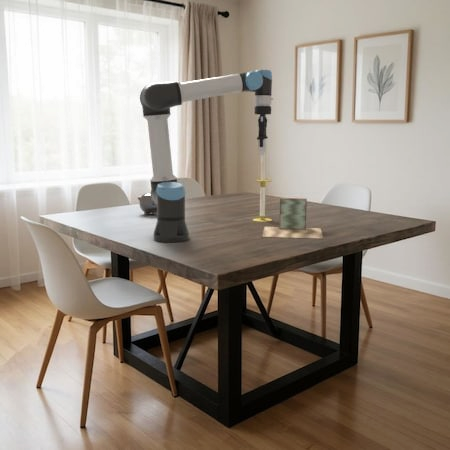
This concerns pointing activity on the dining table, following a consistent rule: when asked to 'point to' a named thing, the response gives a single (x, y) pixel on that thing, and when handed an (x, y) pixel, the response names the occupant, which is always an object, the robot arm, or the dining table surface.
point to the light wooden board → (292, 233)
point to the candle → (262, 191)
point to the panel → (293, 213)
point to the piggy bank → (147, 204)
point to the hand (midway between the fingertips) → (262, 153)
